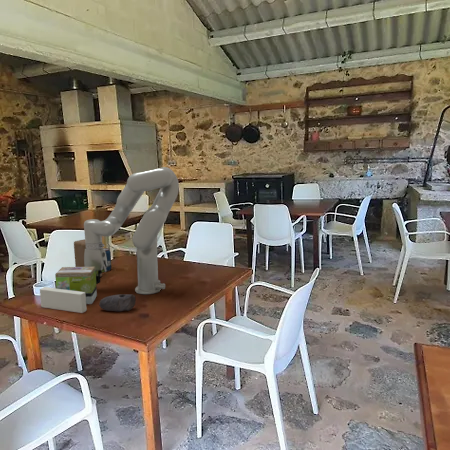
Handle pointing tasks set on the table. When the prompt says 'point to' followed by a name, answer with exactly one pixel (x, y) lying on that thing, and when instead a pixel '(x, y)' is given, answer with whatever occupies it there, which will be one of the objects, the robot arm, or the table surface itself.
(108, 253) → the soda can
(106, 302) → the perforated stone tool
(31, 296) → the table surface
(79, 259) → the wooden block
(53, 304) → the plank
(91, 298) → the tea box
